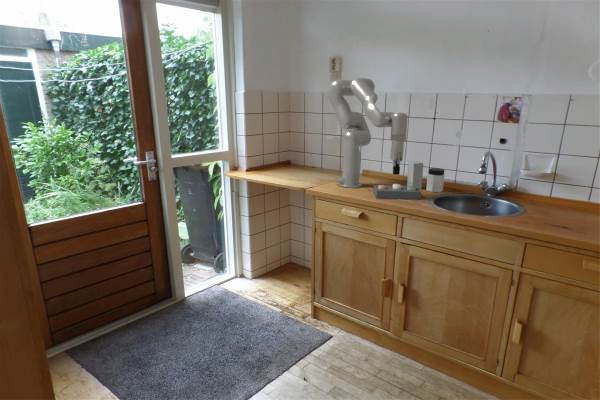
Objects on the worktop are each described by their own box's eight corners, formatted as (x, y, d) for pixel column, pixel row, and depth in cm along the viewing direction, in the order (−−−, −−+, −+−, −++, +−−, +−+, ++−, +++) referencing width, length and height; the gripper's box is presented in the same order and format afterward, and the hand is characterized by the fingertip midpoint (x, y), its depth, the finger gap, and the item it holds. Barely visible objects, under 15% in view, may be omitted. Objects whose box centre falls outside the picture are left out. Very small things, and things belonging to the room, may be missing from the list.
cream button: (392, 192, 201) (393, 185, 200) (391, 190, 205) (391, 183, 205) (401, 192, 201) (402, 185, 200) (399, 190, 205) (400, 184, 204)
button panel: (376, 198, 199) (377, 190, 198) (373, 192, 210) (373, 185, 209) (420, 199, 198) (421, 192, 197) (414, 193, 209) (415, 186, 208)
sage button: (407, 194, 201) (408, 187, 200) (405, 192, 205) (406, 185, 204) (416, 194, 201) (416, 187, 200) (414, 192, 205) (414, 185, 204)
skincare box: (421, 189, 220) (424, 163, 216) (411, 189, 219) (414, 163, 215) (415, 185, 228) (418, 160, 224) (405, 186, 227) (408, 160, 223)
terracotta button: (378, 193, 202) (378, 186, 201) (376, 191, 206) (377, 184, 205) (386, 193, 202) (387, 186, 201) (385, 191, 206) (385, 185, 205)
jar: (423, 189, 220) (425, 168, 217) (434, 188, 223) (436, 167, 220) (434, 193, 212) (436, 171, 209) (445, 191, 215) (448, 170, 212)
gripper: (388, 136, 203) (386, 171, 208) (393, 139, 189) (390, 176, 193) (403, 136, 203) (400, 171, 207) (408, 139, 188) (406, 177, 193)
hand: (396, 174), depth 200 cm, fingers closed
